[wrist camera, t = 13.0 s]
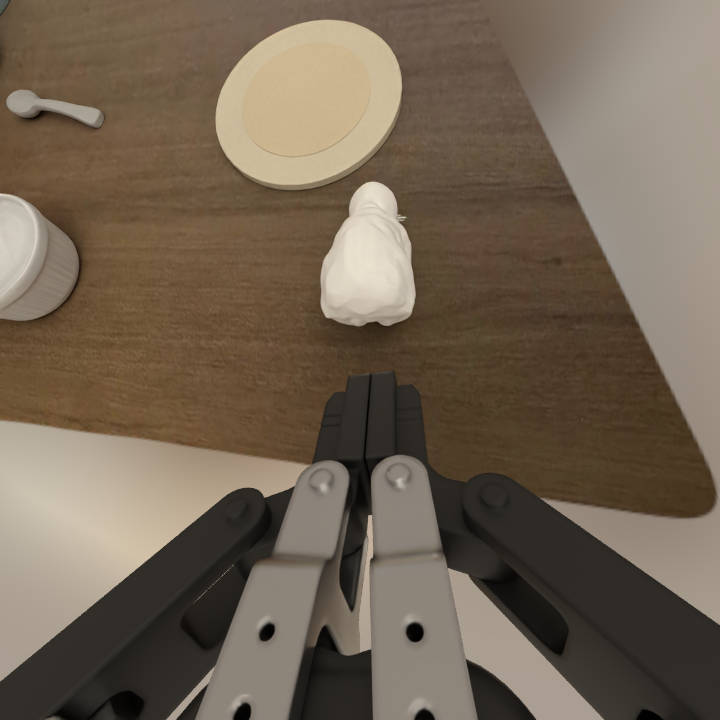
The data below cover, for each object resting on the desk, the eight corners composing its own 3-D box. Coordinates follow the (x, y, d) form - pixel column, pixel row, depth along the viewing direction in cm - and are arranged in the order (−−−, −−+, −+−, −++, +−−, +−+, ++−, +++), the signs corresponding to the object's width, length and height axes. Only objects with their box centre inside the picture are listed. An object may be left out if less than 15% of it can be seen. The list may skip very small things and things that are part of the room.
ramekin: (110, 241, 36) (58, 209, 31) (56, 346, 34) (-9, 331, 29) (29, 213, 38) (-32, 179, 33) (-25, 309, 37) (-96, 289, 32)
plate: (392, 8, 35) (391, -3, 35) (412, 169, 32) (412, 162, 31) (219, 53, 38) (215, 44, 37) (219, 206, 34) (214, 200, 34)
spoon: (24, 96, 42) (6, 80, 40) (113, 116, 40) (98, 100, 38) (13, 119, 42) (-6, 104, 40) (102, 139, 40) (87, 125, 38)
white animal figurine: (303, 300, 21) (316, 137, 25) (337, 347, 29) (343, 220, 33) (414, 294, 20) (411, 125, 24) (417, 345, 28) (415, 213, 32)
